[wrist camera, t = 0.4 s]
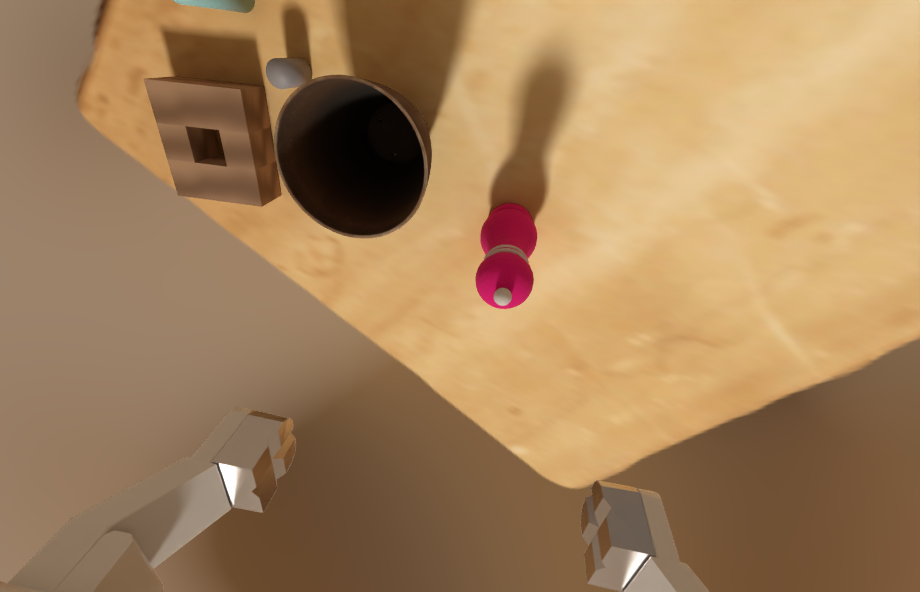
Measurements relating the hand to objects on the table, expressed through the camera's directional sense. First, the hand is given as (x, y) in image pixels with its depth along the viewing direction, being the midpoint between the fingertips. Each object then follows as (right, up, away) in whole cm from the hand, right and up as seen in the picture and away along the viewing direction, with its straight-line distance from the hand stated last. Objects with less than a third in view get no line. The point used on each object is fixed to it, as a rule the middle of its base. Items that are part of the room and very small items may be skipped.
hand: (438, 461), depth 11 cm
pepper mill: (+7, +14, +45) cm, 48 cm away
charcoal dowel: (-19, +32, +38) cm, 53 cm away
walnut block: (-31, +26, +44) cm, 59 cm away
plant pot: (-8, +25, +41) cm, 48 cm away
